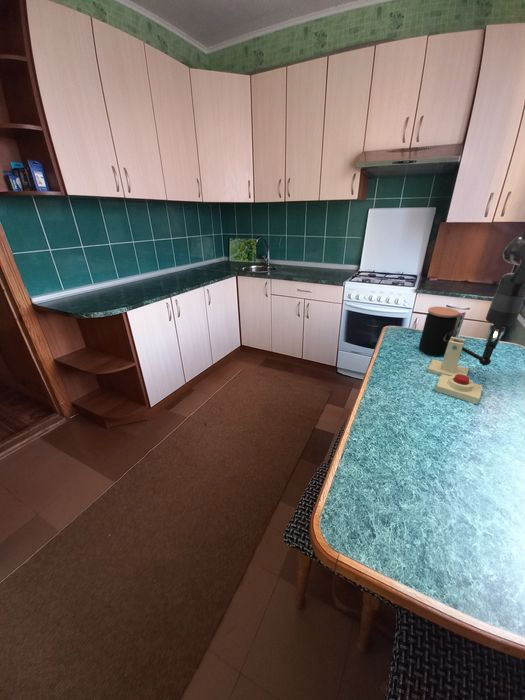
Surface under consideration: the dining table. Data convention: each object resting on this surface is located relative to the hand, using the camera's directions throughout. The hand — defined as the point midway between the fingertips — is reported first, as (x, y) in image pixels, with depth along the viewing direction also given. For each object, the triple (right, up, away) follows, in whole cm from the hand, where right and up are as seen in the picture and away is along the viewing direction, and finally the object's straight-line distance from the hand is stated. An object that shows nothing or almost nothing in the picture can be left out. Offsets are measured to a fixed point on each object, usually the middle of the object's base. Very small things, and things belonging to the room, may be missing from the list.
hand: (486, 356), depth 98 cm
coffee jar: (-4, +2, +24) cm, 25 cm away
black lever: (-4, 0, +4) cm, 5 cm away
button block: (-11, -11, -2) cm, 16 cm away
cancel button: (-11, -8, -3) cm, 14 cm away
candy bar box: (+1, +4, +29) cm, 29 cm away
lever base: (-7, -6, +10) cm, 13 cm away
